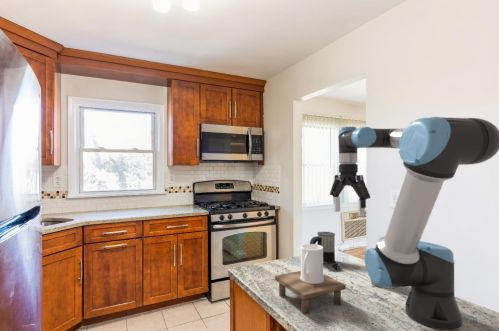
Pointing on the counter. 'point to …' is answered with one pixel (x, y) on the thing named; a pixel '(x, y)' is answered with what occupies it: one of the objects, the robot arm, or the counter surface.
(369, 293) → the counter surface
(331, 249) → the milk frother
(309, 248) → the mug
